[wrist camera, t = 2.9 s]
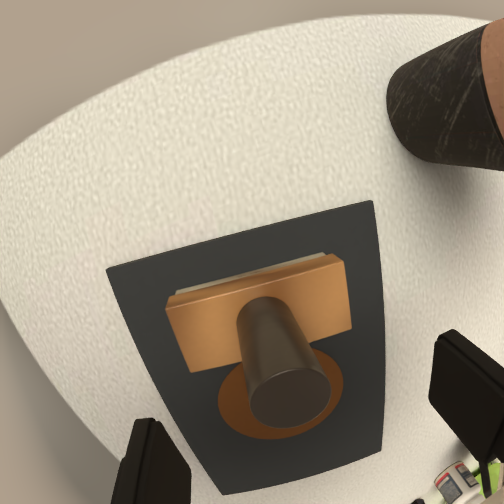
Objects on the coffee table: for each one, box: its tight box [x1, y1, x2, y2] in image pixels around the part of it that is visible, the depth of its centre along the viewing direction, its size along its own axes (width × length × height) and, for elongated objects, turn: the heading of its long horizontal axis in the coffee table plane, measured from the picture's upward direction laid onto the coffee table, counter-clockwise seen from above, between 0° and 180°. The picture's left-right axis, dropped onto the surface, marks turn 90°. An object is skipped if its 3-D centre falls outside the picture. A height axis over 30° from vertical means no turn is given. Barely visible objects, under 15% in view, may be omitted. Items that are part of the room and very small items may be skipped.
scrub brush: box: [165, 252, 352, 429], centre depth 14 cm, size 9×4×9 cm, turn 103°
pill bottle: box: [435, 462, 485, 504], centre depth 25 cm, size 5×5×9 cm
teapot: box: [475, 462, 500, 498], centre depth 27 cm, size 20×13×13 cm
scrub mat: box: [106, 200, 385, 495], centre depth 20 cm, size 16×24×1 cm, turn 13°
